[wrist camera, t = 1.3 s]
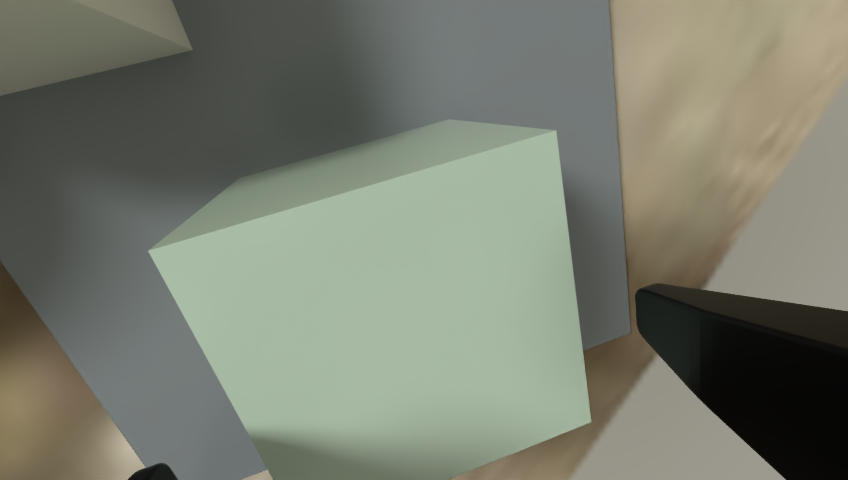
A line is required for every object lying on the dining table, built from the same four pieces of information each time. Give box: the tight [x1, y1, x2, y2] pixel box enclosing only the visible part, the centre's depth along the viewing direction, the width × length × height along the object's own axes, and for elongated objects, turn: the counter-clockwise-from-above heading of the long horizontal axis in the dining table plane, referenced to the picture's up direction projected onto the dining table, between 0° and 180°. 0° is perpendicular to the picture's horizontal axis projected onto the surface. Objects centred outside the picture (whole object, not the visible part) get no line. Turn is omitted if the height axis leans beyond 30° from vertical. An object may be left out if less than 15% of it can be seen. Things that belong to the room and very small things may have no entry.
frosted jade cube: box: [148, 119, 591, 480], centre depth 11 cm, size 7×7×7 cm
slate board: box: [0, 0, 631, 480], centre depth 13 cm, size 26×21×1 cm
